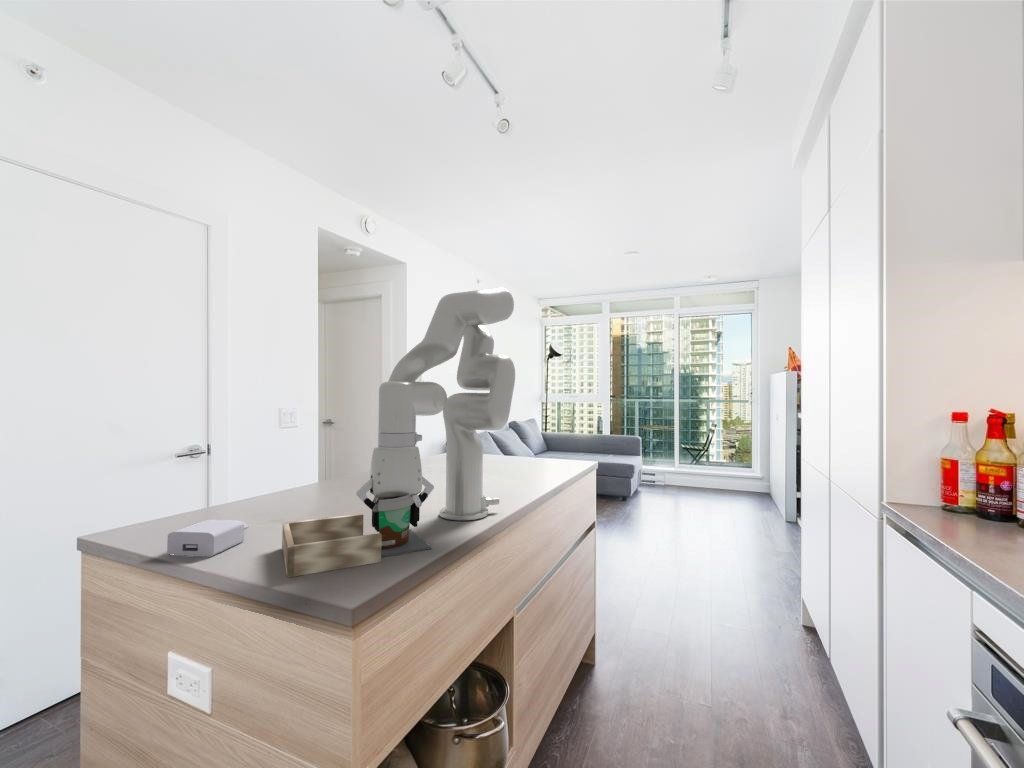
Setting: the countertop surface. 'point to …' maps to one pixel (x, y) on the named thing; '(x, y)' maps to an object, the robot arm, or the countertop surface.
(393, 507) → the food container
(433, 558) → the countertop surface
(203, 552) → the charger
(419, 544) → the mat
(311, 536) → the open box
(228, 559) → the countertop surface
